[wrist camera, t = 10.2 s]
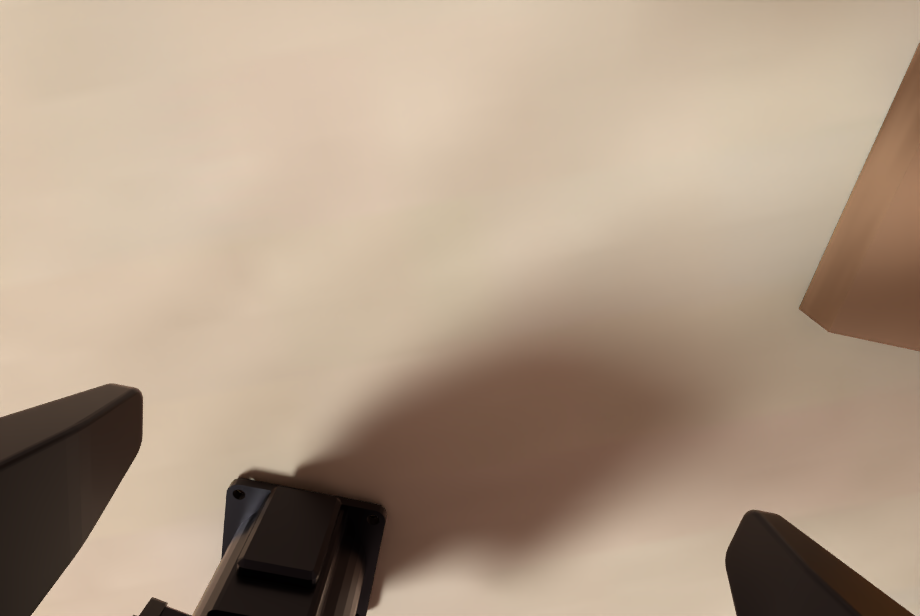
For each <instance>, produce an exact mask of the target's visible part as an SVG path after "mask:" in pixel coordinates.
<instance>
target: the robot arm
mask: <svg viewBox="0 0 920 616" xmlns="http://www.w3.org/2000/svg"><path fill="white" fill-rule="evenodd" d="M142 432H143V396H142V393H141V391H140V390H139V389H137V388H134V387H129V386H124V385H119V384H106V385H103V386H100V387H96V388H93V389H90V390H87V391H84V392H80V393H77V394H74V395H71V396H68V397H64V398H61V399H58V400H55V401H52V402H48V403H45V404H42V405H39V406H36V407H32V408H29V409H26V410H23V411H20V412H16V413H13V414H10V415H7V416H4V417H0V616H31V615H32V613H33V612H34V611H35V609H36V608H37V607H38V605H39V604H40V603H41V601H42V600H43V599H44V597H45V596H46V595H47V593H48V592H49V591H50V589H51V588H52V587H53V585H54V584H55V583H56V581H57V580H58V578H59V577H60V576H61V574H62V573H63V572H64V570H65V569H66V568H67V566H68V565H69V564H70V562H71V561H72V560H73V558H74V557H75V555H76V554H77V553H78V551H79V550H80V548H81V547H82V546H83V544H84V542H85V541H86V539H87V538H88V536H89V534H90V533H91V531H92V530H93V528H94V526H95V525H96V523H97V521H98V520H99V518H100V516H101V514H102V513H103V511H104V509H105V508H106V506H107V504H108V503H109V501H110V499H111V498H112V496H113V494H114V492H115V491H116V489H117V487H118V486H119V484H120V482H121V481H122V479H123V477H124V476H125V474H126V472H127V471H128V469H129V467H130V465H131V464H132V462H133V460H134V459H135V457H136V455H137V453H138V451H139V449H140V446H141V442H142ZM238 490H242V491H243V492H244V493H240V492H239V491H238ZM370 515H375V516H377V517H378V518H372V517H370ZM386 516H387V515H386V510H385V508H383V507H382V506H381V505H378V504H375V503H369V502H364V501H359V500H354V499H348V498H343V497H338V496H333V495H327V494H322V493H317V492H312V491H306V490H301V489H296V488H291V487H286V486H280V485H275V484H270V483H265V482H259V481H254V480H249V479H244V478H238V479H235V480H234V481H233V482H232V483H231V484H230V486H229V488H228V490H227V495H226V507H225V520H224V533H223V545H222V558H221V562H220V564H219V566H218V567H217V569H216V571H215V573H214V575H213V577H212V579H211V581H210V583H209V585H208V587H207V588H206V590H205V592H204V594H203V596H202V598H201V600H200V602H199V604H198V606H197V607H196V609H195V611H194V613H193V615H189V614H186V613H184V612H181V611H178V610H176V609H173V608H171V607H168V606H167V604H168V603H166V602H164V601H161V600H159V599H156V598H153V597H152V598H151V599H150V601H149V602H148V604H147V605H146V607H145V608H144V609H143V611H142V612H141V614H140V615H139V616H366V613H367V608H368V603H369V599H370V594H371V589H372V584H373V579H374V574H375V569H376V564H377V560H378V555H379V550H380V545H381V540H382V535H383V530H384V525H385V521H386ZM725 564H726V571H727V575H728V580H729V584H730V589H731V593H732V597H733V602H734V606H735V611H736V615H737V616H915V615H913V614H912V613H910V612H909V611H908V610H906V609H905V608H904V607H902V606H901V605H900V604H898V603H897V602H896V601H894V600H893V599H892V598H890V597H889V596H888V595H886V594H885V593H884V592H882V591H881V590H879V589H878V588H877V587H875V586H874V585H873V584H871V583H870V582H869V581H867V580H866V579H865V578H863V577H862V576H861V575H859V574H858V573H857V572H855V571H854V570H853V569H851V568H850V567H849V566H847V565H846V564H844V563H843V562H842V561H840V560H839V559H838V558H836V557H835V556H834V555H832V554H831V553H830V552H828V551H827V550H826V549H824V548H823V547H822V546H820V545H819V544H818V543H816V542H815V541H814V540H812V539H811V538H809V537H808V536H807V535H805V534H804V533H803V532H801V531H800V530H799V529H797V528H796V527H795V526H793V525H792V524H791V523H789V522H788V521H787V520H785V519H784V518H783V517H781V516H780V515H777V514H774V513H769V512H764V511H759V510H750V511H748V512H747V513H746V514H745V515H744V516H743V518H742V520H741V522H740V524H739V526H738V528H737V531H736V533H735V535H734V537H733V539H732V541H731V543H730V545H729V547H728V549H727V552H726V558H725ZM133 616H136V615H133Z"/></svg>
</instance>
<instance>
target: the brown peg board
mask: <svg viewBox="0 0 920 616" xmlns="http://www.w3.org/2000/svg"><path fill="white" fill-rule="evenodd" d="M799 309H800V310H801V311H802V312H804V313H805V314H806V315H808V316H809V317H810V318H811V319H813V320H814V321H815V322H816V323H818V324H819V325H820V326H822V327H823V328H824V329H825V330H827V331H828V332H831V333H836V334H841V335H845V336H850V337H855V338H859V339H864V340H869V341H874V342H878V343H883V344H888V345H893V346H897V347H902V348H907V349H912V350H916V351H920V43H919V45H918V48H917V50H916V52H915V54H914V56H913V59H912V61H911V63H910V65H909V67H908V70H907V72H906V74H905V76H904V78H903V81H902V83H901V85H900V87H899V89H898V92H897V94H896V96H895V98H894V100H893V103H892V105H891V107H890V109H889V111H888V114H887V116H886V118H885V120H884V122H883V125H882V127H881V129H880V131H879V133H878V136H877V138H876V140H875V142H874V144H873V147H872V149H871V151H870V153H869V155H868V158H867V160H866V162H865V164H864V166H863V169H862V171H861V173H860V175H859V177H858V180H857V182H856V184H855V186H854V188H853V191H852V193H851V195H850V197H849V199H848V202H847V204H846V206H845V208H844V210H843V213H842V215H841V217H840V219H839V221H838V224H837V226H836V228H835V230H834V232H833V235H832V237H831V239H830V241H829V243H828V246H827V248H826V250H825V252H824V254H823V257H822V259H821V261H820V263H819V265H818V268H817V270H816V272H815V274H814V276H813V279H812V281H811V283H810V285H809V287H808V290H807V292H806V294H805V296H804V298H803V301H802V303H801V305H800V307H799Z"/></svg>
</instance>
